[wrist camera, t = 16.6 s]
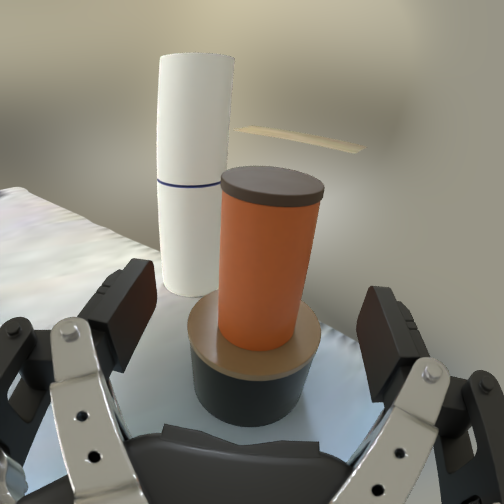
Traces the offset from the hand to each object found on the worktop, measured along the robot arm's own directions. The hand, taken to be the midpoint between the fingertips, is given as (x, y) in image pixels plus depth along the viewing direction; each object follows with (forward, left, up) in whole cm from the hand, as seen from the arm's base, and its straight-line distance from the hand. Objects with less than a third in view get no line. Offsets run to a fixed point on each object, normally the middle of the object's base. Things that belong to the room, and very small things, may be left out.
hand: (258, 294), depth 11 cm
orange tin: (-3, +6, -7) cm, 10 cm away
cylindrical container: (-17, +14, -15) cm, 27 cm away
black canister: (-3, +6, -14) cm, 16 cm away
